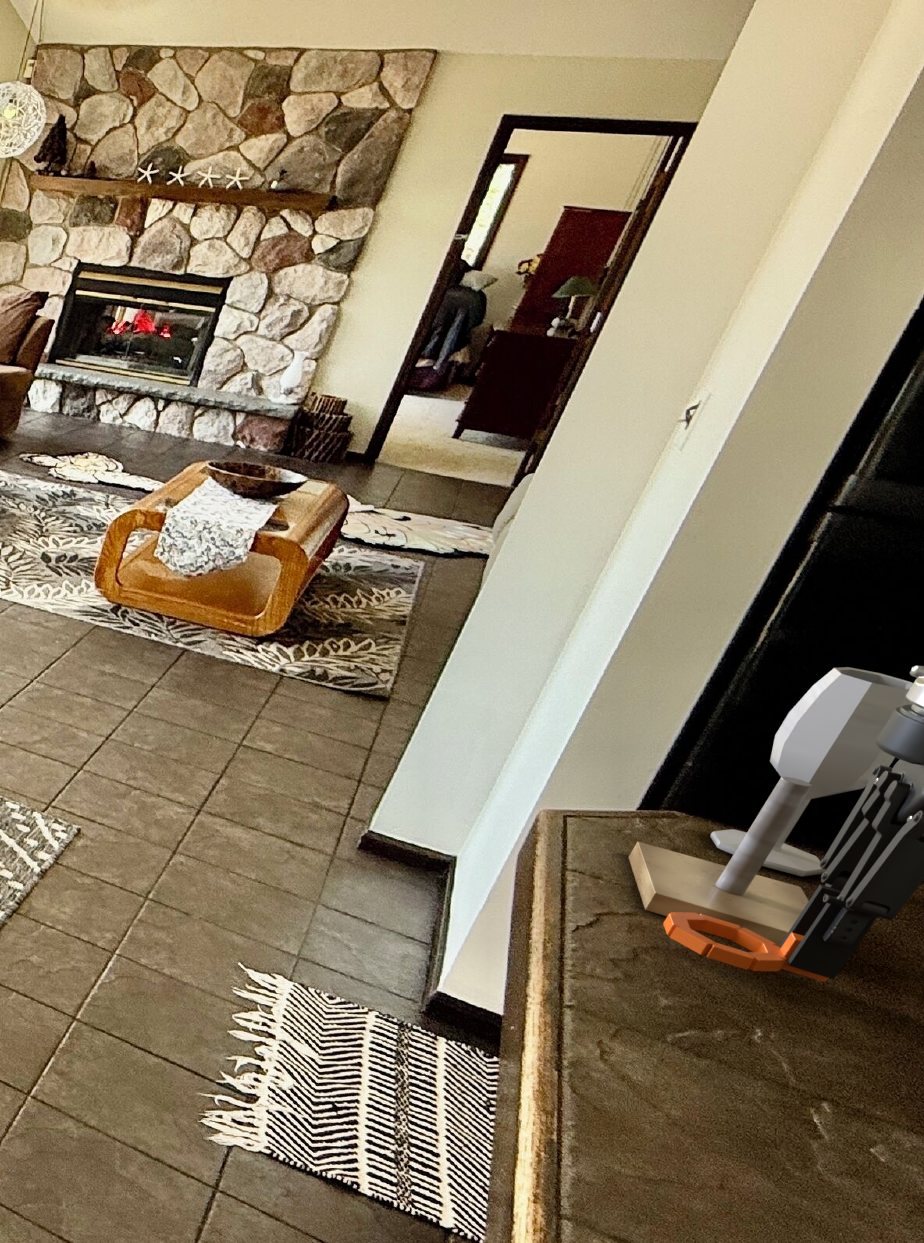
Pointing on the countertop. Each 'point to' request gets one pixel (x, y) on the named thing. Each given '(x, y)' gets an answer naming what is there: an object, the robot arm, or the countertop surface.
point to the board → (705, 899)
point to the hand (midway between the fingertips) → (806, 961)
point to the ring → (763, 950)
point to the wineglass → (828, 749)
